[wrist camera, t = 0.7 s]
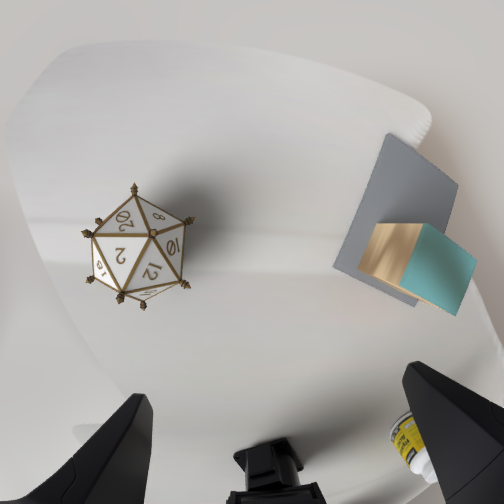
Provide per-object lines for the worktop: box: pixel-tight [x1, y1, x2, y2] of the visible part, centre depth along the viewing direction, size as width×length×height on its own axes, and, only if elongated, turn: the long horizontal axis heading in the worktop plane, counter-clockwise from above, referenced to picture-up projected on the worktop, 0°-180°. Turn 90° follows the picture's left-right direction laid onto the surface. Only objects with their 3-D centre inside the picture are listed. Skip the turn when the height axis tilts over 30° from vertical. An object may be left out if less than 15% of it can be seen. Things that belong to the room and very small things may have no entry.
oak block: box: [357, 223, 477, 316], centre depth 20 cm, size 4×6×8 cm
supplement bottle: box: [390, 412, 438, 484], centre depth 22 cm, size 5×5×10 cm
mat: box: [333, 133, 458, 307], centre depth 25 cm, size 14×10×1 cm
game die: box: [81, 182, 195, 311], centre depth 20 cm, size 9×8×10 cm
